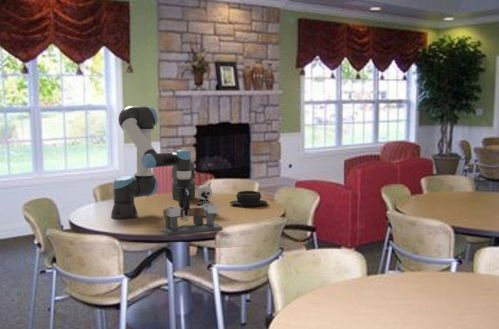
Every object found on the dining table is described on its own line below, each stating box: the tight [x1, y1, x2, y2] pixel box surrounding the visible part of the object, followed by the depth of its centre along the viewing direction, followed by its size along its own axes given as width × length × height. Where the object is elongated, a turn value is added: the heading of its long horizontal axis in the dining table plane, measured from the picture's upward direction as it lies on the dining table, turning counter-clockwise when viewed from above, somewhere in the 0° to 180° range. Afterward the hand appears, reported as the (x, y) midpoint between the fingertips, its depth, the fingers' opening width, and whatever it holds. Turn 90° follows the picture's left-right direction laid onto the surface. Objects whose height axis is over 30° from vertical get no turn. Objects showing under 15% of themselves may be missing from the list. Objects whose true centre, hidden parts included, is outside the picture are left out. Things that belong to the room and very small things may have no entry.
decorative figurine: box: [194, 181, 216, 217], centre depth 323 cm, size 15×15×20 cm
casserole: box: [229, 190, 268, 207], centre depth 353 cm, size 25×19×8 cm
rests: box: [164, 215, 204, 228], centre depth 294 cm, size 20×5×5 cm, turn 115°
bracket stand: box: [161, 202, 223, 236], centre depth 282 cm, size 30×10×13 cm, turn 115°
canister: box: [171, 160, 196, 201], centre depth 377 cm, size 16×16×28 cm
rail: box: [162, 205, 205, 219], centre depth 294 cm, size 22×4×4 cm, turn 115°
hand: (184, 220), depth 295 cm, fingers closed on rail, 4 cm apart
